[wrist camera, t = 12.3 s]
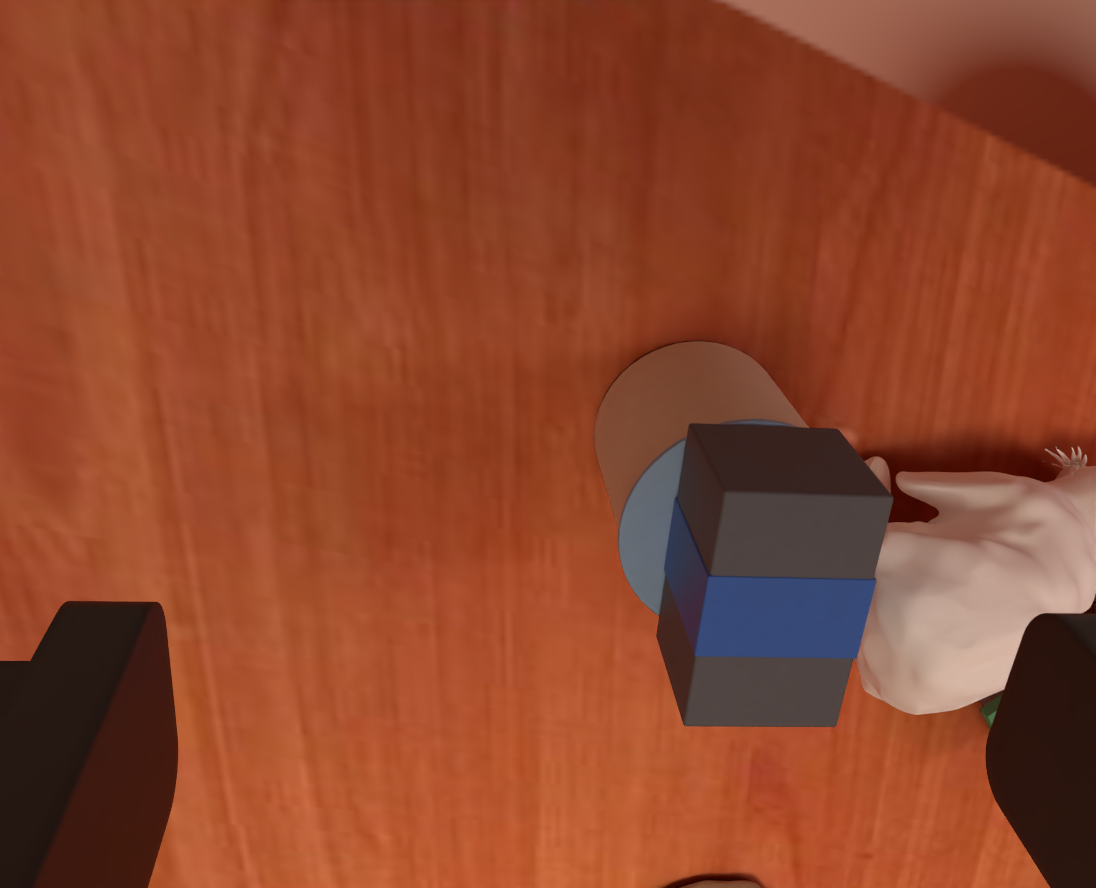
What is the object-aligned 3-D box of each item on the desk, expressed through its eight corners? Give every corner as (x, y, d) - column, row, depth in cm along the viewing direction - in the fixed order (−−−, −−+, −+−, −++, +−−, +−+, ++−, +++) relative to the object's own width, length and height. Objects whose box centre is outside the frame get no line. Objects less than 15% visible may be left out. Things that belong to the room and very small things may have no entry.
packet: (685, 420, 28) (722, 492, 24) (839, 426, 28) (898, 498, 25) (653, 635, 31) (681, 729, 27) (793, 637, 31) (839, 729, 28)
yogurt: (599, 329, 34) (634, 416, 28) (805, 339, 35) (885, 426, 28) (578, 516, 37) (605, 632, 31) (769, 521, 38) (833, 636, 31)
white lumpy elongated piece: (893, 605, 29) (1287, 495, 30) (776, 472, 36) (1092, 387, 37) (903, 775, 31) (1263, 668, 32) (792, 618, 39) (1086, 535, 40)
